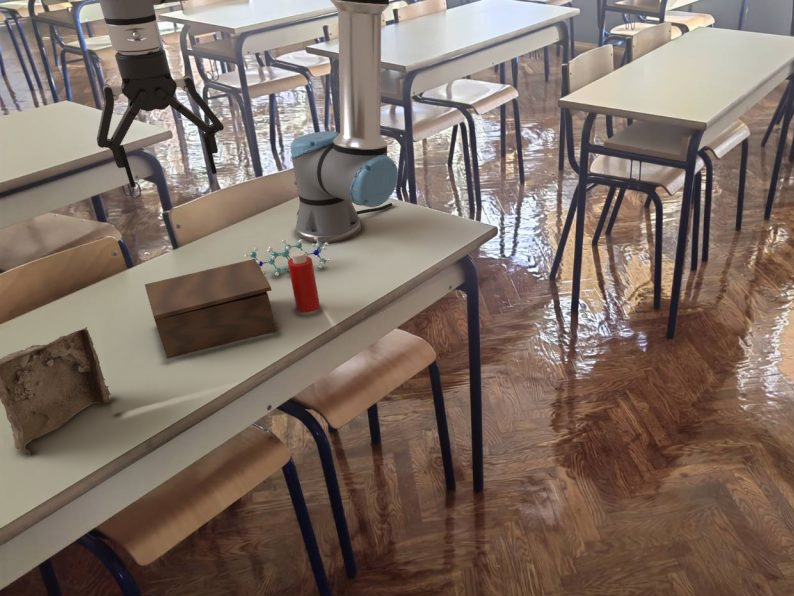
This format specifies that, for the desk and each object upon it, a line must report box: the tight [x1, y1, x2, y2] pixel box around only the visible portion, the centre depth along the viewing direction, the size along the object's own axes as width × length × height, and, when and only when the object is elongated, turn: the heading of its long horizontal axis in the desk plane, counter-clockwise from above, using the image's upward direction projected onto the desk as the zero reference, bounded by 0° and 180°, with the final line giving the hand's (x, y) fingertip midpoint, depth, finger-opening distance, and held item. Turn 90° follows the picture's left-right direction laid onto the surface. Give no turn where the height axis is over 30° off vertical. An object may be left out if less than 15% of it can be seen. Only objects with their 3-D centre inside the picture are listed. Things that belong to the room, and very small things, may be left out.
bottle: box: [287, 250, 321, 313], centre depth 150 cm, size 5×5×13 cm
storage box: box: [153, 292, 277, 359], centre depth 144 cm, size 20×13×9 cm
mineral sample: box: [0, 326, 112, 456], centre depth 119 cm, size 17×4×15 cm, turn 154°
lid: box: [144, 258, 272, 321], centre depth 141 cm, size 21×13×1 cm, turn 118°
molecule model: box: [243, 237, 332, 276], centre depth 165 cm, size 8×18×7 cm, turn 115°
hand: (173, 178), depth 134 cm, fingers open, 13 cm apart
